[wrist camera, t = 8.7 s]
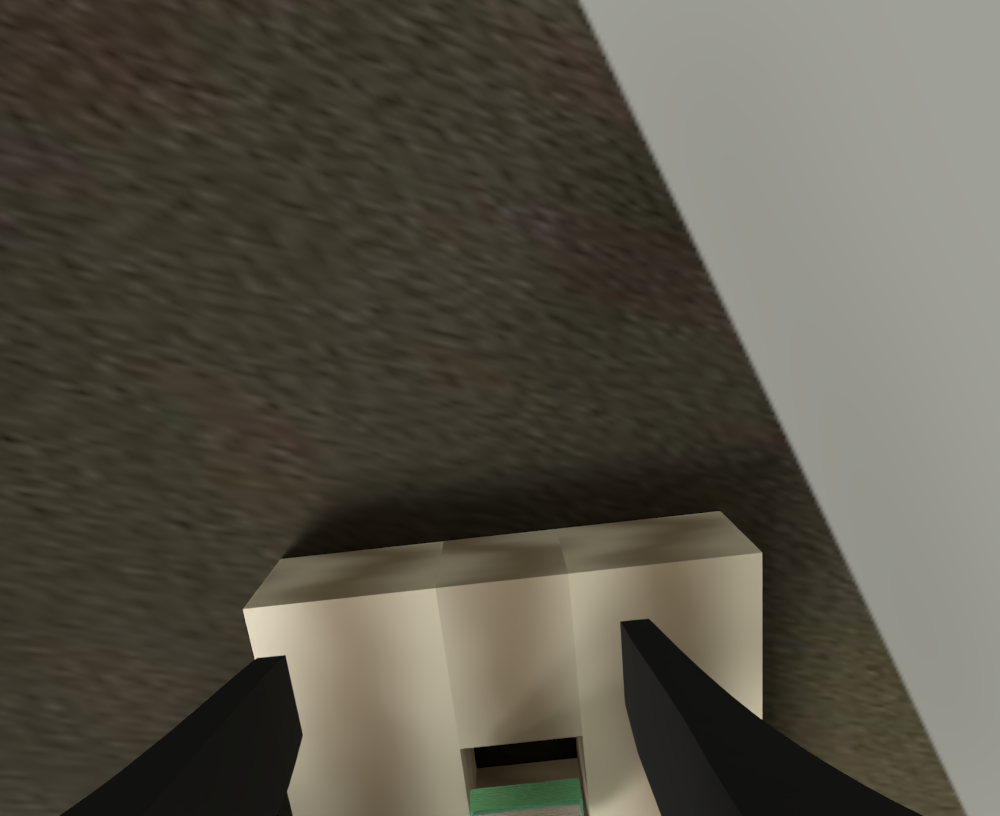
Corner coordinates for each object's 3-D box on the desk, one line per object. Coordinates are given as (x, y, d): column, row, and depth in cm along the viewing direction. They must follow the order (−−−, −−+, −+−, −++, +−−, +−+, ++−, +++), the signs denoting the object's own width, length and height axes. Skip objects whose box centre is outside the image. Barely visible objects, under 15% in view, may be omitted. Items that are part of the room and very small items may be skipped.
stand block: (355, 896, 26) (329, 1013, 22) (280, 558, 22) (232, 623, 18) (726, 857, 26) (772, 967, 22) (720, 510, 22) (774, 564, 18)
